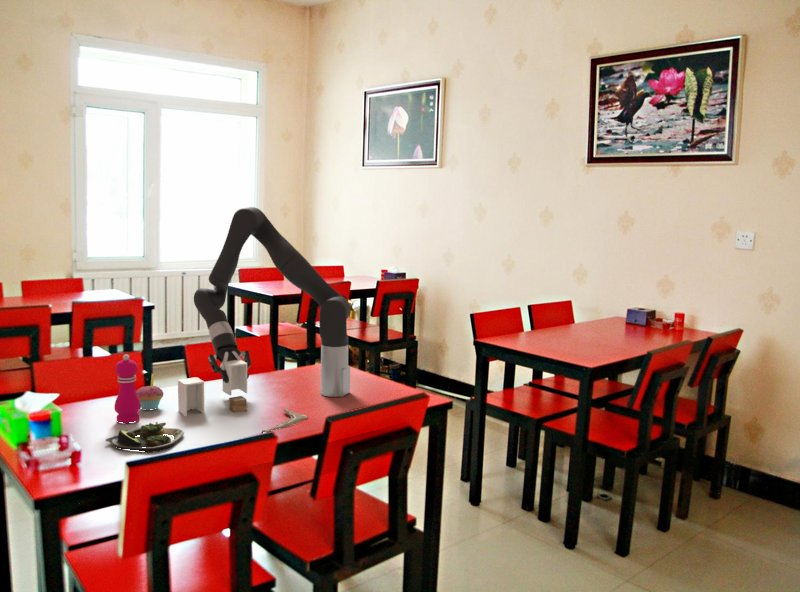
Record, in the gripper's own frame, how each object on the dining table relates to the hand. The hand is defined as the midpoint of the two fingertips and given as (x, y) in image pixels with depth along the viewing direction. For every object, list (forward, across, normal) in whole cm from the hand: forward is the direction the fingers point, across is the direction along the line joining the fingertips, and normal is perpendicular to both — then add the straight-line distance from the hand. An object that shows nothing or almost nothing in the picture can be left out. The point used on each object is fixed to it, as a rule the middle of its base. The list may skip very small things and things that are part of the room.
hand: (237, 380), depth 225 cm
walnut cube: (+12, -4, -2) cm, 13 cm away
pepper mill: (+7, -35, +3) cm, 36 cm away
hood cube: (+2, 0, +4) cm, 5 cm away
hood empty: (+8, -17, +2) cm, 18 cm away
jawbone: (+24, +1, -14) cm, 28 cm away
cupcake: (+1, -26, +9) cm, 28 cm away
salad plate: (+21, -36, -10) cm, 43 cm away
